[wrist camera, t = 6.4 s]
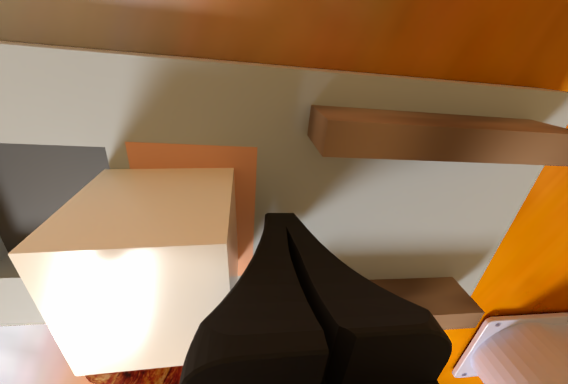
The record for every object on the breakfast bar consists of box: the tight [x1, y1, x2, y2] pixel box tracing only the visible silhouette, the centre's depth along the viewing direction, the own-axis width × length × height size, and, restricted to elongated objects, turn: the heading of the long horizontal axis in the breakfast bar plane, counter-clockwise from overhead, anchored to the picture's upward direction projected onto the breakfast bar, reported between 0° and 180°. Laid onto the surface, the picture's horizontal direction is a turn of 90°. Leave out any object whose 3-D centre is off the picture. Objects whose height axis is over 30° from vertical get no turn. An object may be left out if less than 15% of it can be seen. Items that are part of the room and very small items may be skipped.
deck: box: [0, 41, 568, 326], centre depth 14 cm, size 28×13×2 cm, turn 85°
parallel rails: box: [307, 105, 568, 330], centre depth 13 cm, size 10×11×2 cm
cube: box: [8, 168, 238, 376], centre depth 10 cm, size 5×5×5 cm
